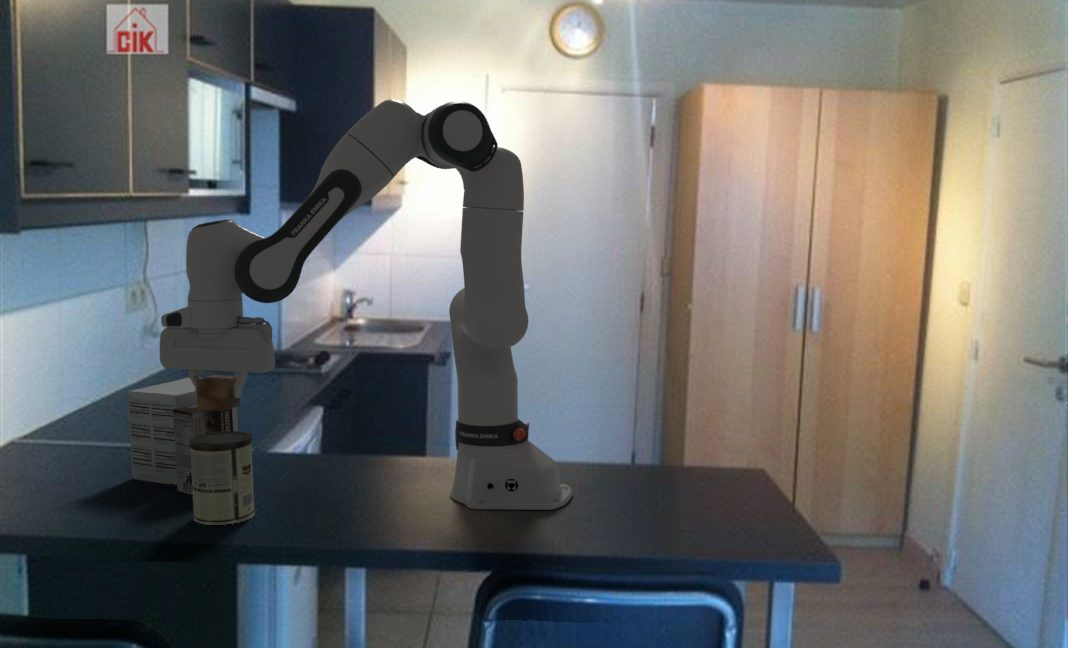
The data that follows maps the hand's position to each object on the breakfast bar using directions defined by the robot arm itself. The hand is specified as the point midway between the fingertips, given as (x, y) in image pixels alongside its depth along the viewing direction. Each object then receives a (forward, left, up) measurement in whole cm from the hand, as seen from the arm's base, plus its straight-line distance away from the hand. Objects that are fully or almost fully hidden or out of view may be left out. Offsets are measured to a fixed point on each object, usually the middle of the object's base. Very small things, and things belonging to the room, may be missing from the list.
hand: (218, 396), depth 165 cm
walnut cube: (0, 0, -2) cm, 2 cm away
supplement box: (+24, -25, -22) cm, 41 cm away
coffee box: (+13, -15, -21) cm, 29 cm away
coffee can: (0, 0, -21) cm, 21 cm away
